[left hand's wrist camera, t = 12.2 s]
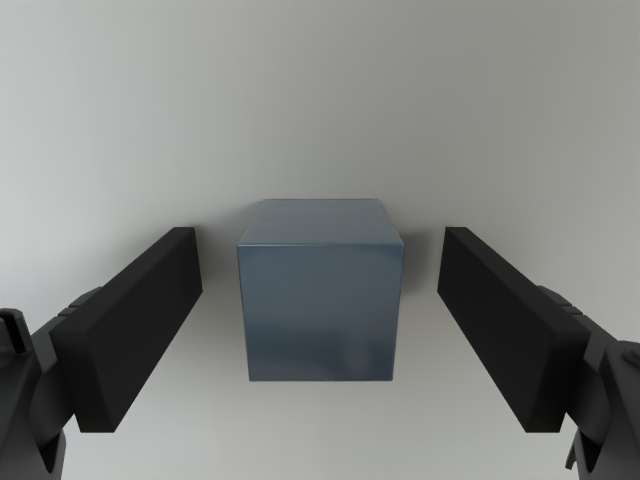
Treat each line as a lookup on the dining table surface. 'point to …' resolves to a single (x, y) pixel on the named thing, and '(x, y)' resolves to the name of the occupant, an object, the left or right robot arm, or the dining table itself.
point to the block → (320, 290)
